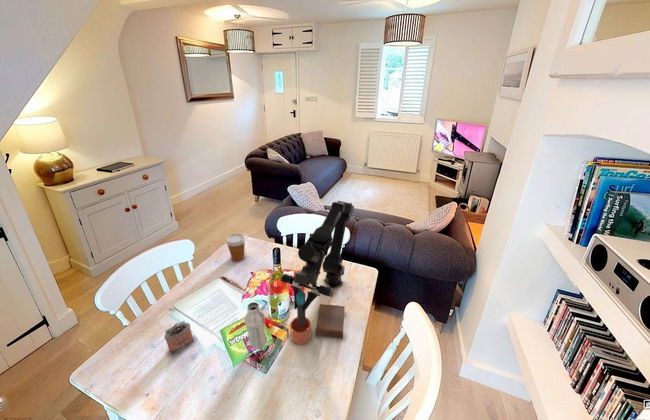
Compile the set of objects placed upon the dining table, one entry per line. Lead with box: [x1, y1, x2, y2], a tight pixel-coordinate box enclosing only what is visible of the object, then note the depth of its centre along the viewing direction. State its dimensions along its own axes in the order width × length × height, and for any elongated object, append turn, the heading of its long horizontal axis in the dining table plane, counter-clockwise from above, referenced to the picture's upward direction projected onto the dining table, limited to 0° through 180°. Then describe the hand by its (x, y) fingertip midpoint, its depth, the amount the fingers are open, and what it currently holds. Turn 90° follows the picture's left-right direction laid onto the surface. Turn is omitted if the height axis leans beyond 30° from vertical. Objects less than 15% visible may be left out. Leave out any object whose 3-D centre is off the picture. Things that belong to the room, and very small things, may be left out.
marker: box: [296, 291, 306, 326], centre depth 94 cm, size 3×3×13 cm
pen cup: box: [289, 316, 312, 345], centre depth 98 cm, size 7×7×6 cm
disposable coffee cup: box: [225, 233, 246, 262], centre depth 139 cm, size 10×10×12 cm
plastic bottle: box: [243, 301, 268, 349], centre depth 89 cm, size 6×7×20 cm
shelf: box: [315, 303, 346, 340], centre depth 103 cm, size 12×10×4 cm
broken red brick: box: [163, 320, 195, 355], centre depth 92 cm, size 8×3×10 cm, turn 134°
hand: (299, 310), depth 92 cm, fingers closed on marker, 3 cm apart
